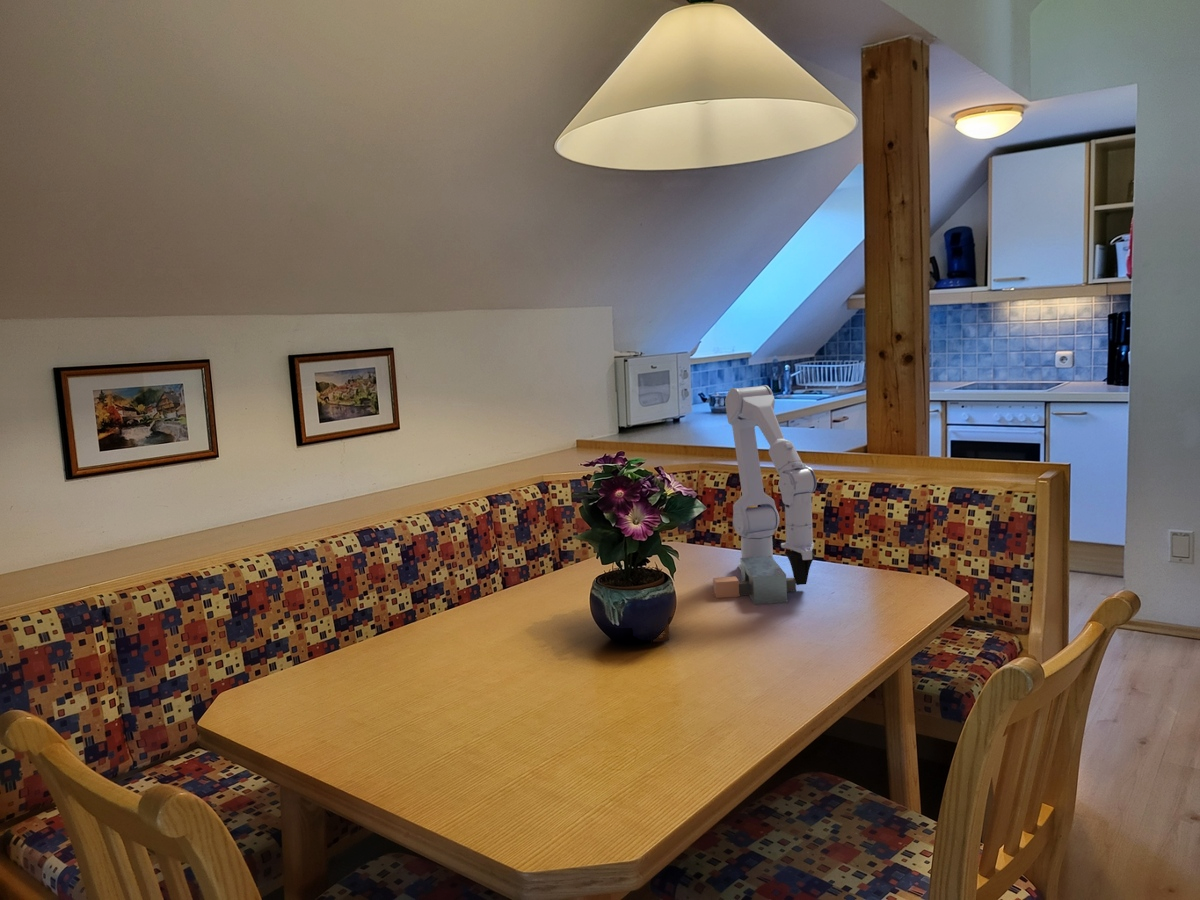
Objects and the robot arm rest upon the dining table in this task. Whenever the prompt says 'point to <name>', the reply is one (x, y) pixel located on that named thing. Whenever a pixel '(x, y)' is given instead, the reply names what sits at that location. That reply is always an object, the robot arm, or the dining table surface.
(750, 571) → the block
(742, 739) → the dining table surface
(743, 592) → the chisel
